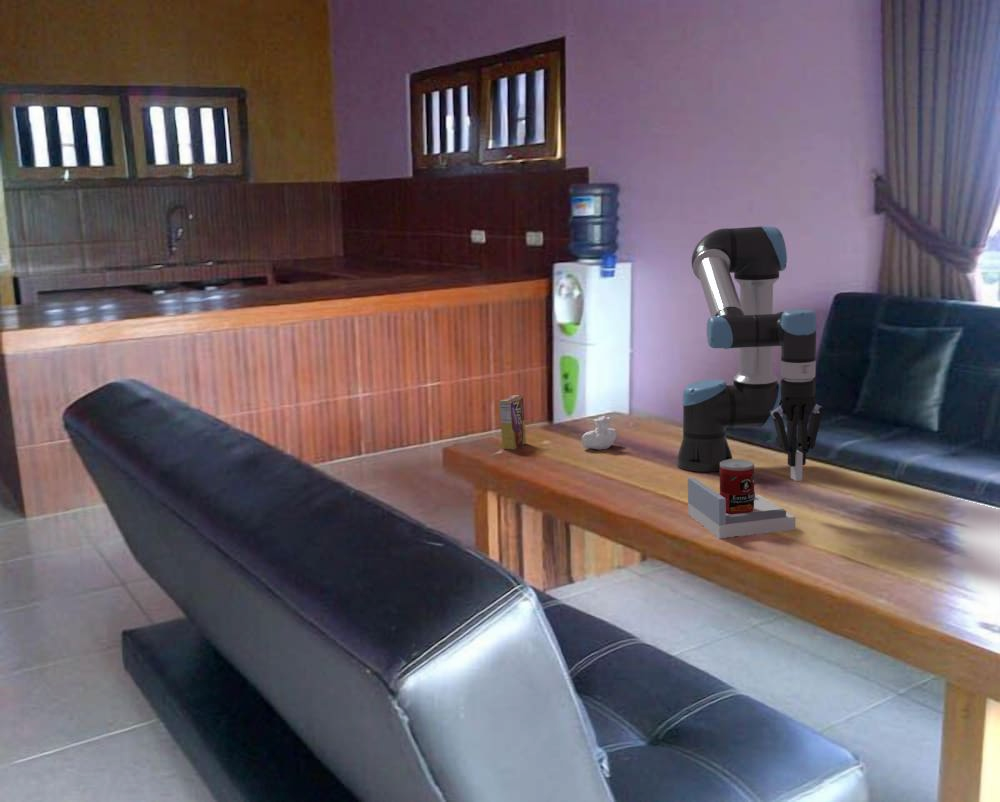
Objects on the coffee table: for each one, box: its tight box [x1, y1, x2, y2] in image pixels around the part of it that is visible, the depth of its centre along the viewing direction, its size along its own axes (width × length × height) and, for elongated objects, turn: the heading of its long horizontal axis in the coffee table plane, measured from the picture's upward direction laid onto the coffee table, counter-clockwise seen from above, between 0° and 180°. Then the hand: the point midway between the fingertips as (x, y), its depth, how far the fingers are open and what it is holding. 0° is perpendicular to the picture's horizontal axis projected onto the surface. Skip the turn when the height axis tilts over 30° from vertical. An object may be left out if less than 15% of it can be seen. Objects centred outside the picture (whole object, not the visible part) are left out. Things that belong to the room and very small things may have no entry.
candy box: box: [499, 394, 527, 451], centre depth 313 cm, size 9×4×15 cm, turn 152°
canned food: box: [719, 458, 755, 514], centre depth 231 cm, size 8×8×11 cm
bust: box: [581, 415, 618, 451], centre depth 305 cm, size 12×8×11 cm
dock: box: [687, 477, 796, 540], centre depth 232 cm, size 18×18×9 cm
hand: (796, 478), depth 234 cm, fingers closed
